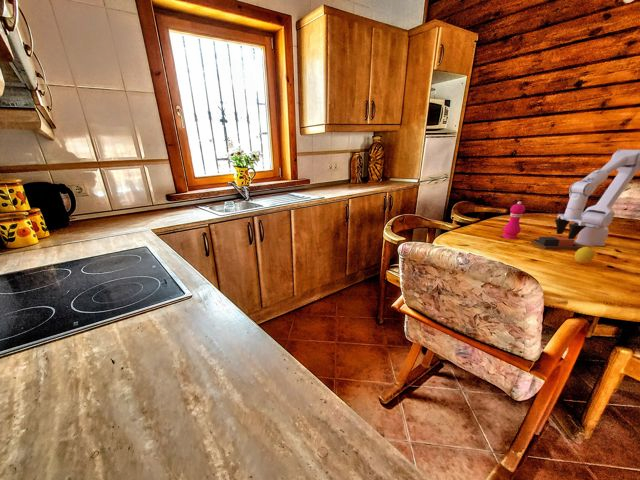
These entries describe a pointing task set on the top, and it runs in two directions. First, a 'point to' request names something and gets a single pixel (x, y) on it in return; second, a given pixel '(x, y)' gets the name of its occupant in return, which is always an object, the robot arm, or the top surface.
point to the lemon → (584, 255)
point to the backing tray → (574, 247)
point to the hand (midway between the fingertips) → (565, 236)
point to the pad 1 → (548, 241)
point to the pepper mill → (514, 221)
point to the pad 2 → (565, 241)
